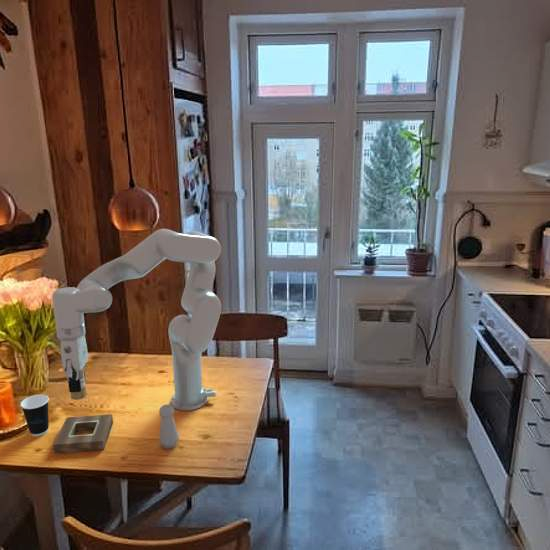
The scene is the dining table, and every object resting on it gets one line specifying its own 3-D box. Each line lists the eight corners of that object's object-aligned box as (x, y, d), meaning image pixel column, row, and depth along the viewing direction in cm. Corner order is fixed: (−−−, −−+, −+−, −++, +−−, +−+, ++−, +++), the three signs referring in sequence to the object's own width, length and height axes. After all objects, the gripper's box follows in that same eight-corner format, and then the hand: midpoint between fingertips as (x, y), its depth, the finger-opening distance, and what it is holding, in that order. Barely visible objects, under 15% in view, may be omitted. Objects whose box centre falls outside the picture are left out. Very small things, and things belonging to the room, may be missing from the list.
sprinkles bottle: (88, 397, 142) (83, 356, 138) (72, 402, 140) (67, 360, 136) (85, 391, 146) (80, 350, 142) (69, 395, 143) (64, 354, 139)
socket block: (113, 422, 154) (112, 413, 153) (104, 450, 141) (102, 440, 140) (68, 426, 153) (66, 417, 152) (54, 454, 139) (53, 444, 138)
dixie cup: (36, 442, 145) (31, 410, 141) (20, 435, 148) (14, 403, 145) (58, 428, 151) (54, 398, 148) (42, 422, 155) (37, 392, 152)
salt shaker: (170, 436, 147) (168, 399, 144) (183, 443, 144) (180, 406, 140) (155, 445, 143) (152, 407, 139) (167, 453, 139) (164, 414, 136)
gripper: (76, 341, 129) (83, 401, 134) (91, 319, 145) (97, 373, 150) (47, 343, 128) (55, 403, 133) (65, 320, 144) (72, 374, 149)
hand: (77, 386), depth 142 cm, fingers closed on sprinkles bottle, 4 cm apart
